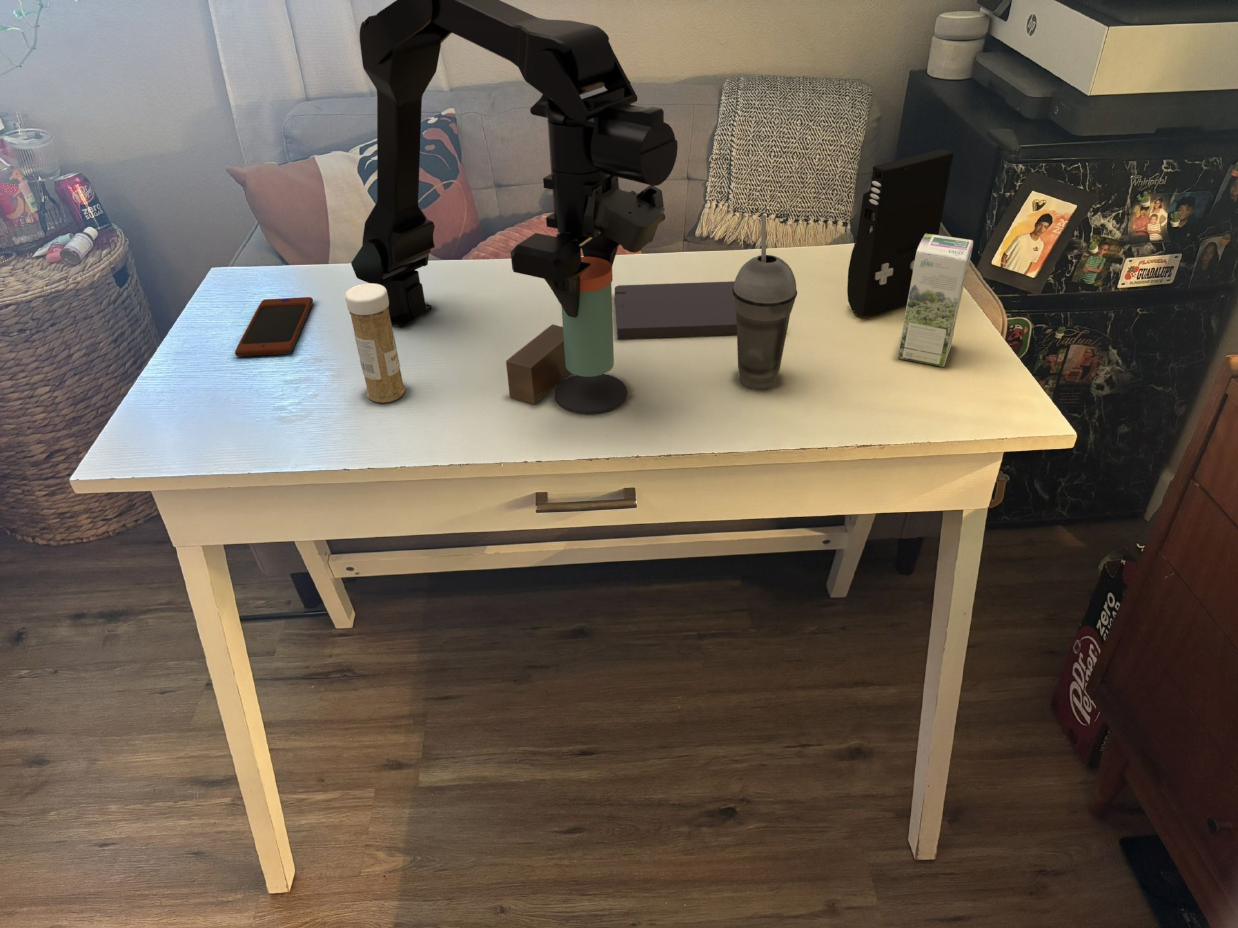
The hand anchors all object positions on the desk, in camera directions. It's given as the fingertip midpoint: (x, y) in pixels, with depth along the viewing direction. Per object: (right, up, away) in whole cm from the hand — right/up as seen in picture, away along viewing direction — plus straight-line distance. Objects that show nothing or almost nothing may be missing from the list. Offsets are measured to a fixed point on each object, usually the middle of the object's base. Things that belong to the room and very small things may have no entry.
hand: (586, 305), depth 103 cm
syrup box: (+42, -4, +13) cm, 44 cm away
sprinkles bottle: (-24, -9, +8) cm, 27 cm away
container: (-4, -4, +5) cm, 7 cm away
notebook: (+14, +3, +23) cm, 27 cm away
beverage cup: (+20, -7, +9) cm, 23 cm away
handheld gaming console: (+40, +4, +24) cm, 47 cm away
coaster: (0, -9, +7) cm, 12 cm away
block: (-5, -8, +9) cm, 13 cm away
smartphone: (-42, +1, +22) cm, 47 cm away
